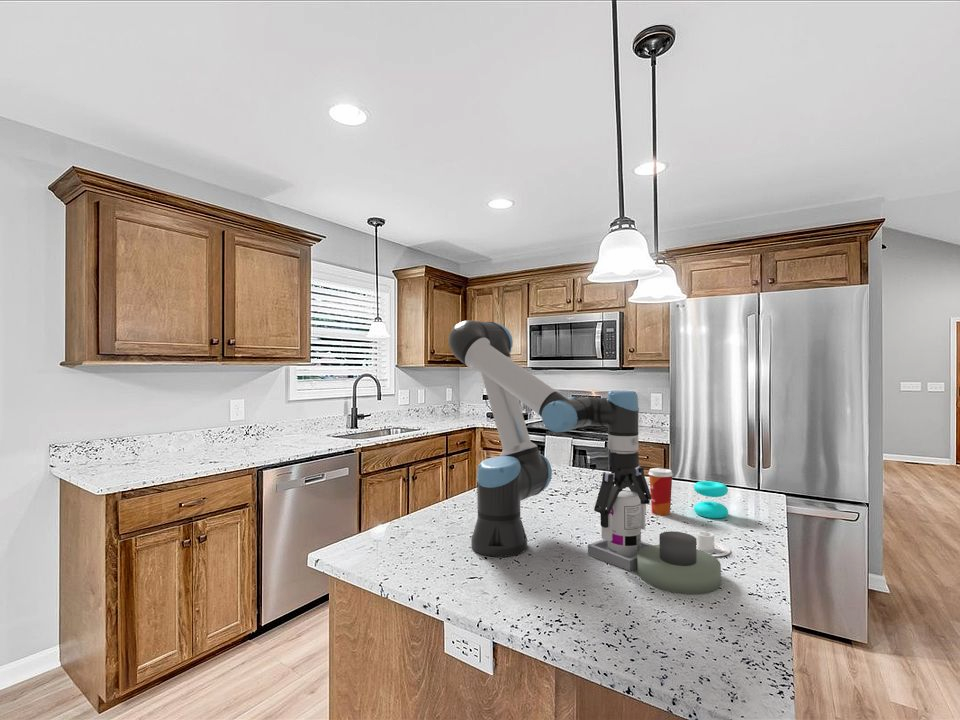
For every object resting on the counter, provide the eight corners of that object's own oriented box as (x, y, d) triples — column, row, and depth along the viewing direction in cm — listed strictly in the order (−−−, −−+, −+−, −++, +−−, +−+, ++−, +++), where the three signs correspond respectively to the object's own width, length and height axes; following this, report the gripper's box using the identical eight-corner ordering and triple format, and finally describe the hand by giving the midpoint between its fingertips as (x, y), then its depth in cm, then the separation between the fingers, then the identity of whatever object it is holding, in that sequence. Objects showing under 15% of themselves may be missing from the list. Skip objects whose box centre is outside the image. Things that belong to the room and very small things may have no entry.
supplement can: (607, 556, 125) (606, 496, 125) (608, 544, 133) (608, 488, 133) (641, 560, 123) (640, 499, 123) (640, 547, 131) (640, 490, 131)
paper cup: (653, 508, 169) (653, 466, 169) (676, 512, 164) (676, 469, 164) (644, 513, 163) (644, 470, 163) (668, 518, 158) (668, 474, 158)
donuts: (732, 483, 161) (720, 489, 154) (733, 514, 161) (721, 521, 154) (701, 478, 168) (688, 483, 161) (701, 508, 168) (688, 514, 161)
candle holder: (691, 559, 127) (691, 542, 127) (673, 541, 139) (673, 526, 139) (739, 559, 127) (739, 542, 127) (717, 541, 139) (717, 526, 139)
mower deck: (693, 602, 103) (693, 559, 103) (581, 556, 128) (580, 521, 128) (736, 579, 114) (735, 539, 114) (625, 540, 139) (624, 508, 139)
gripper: (603, 459, 117) (604, 549, 117) (664, 447, 132) (665, 527, 132) (579, 454, 123) (579, 540, 123) (640, 443, 138) (641, 520, 138)
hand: (624, 533), depth 128 cm, fingers open, 13 cm apart
